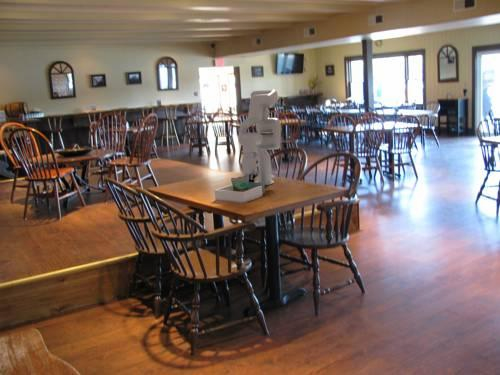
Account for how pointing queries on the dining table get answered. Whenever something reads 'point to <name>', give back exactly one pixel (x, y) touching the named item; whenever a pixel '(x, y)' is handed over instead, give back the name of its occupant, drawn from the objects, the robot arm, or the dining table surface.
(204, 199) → the dining table surface
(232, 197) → the shallow white open box
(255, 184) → the tray
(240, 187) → the food container
